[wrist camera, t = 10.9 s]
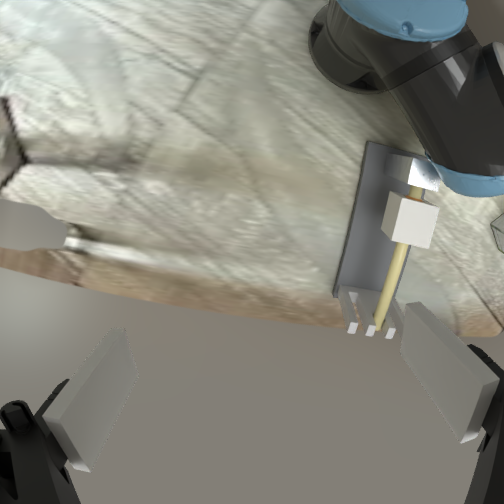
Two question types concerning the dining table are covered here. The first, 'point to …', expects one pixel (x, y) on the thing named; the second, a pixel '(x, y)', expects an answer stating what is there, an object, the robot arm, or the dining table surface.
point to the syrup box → (499, 232)
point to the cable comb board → (379, 239)
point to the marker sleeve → (409, 220)
